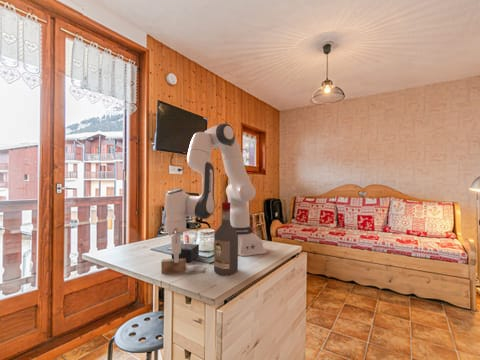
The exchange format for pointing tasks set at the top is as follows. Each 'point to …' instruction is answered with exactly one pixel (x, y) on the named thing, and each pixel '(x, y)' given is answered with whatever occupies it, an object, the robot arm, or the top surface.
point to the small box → (188, 252)
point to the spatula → (179, 267)
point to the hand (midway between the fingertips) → (176, 258)
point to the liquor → (225, 245)
